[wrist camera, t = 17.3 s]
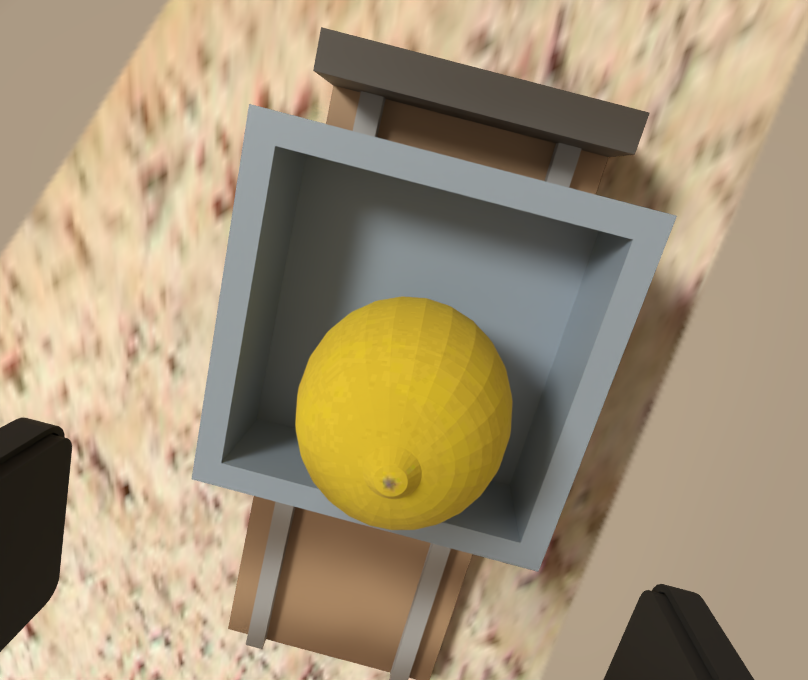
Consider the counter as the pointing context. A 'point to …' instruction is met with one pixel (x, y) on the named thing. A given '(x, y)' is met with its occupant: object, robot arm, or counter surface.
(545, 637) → the counter surface
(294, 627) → the track
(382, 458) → the lemon
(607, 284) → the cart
